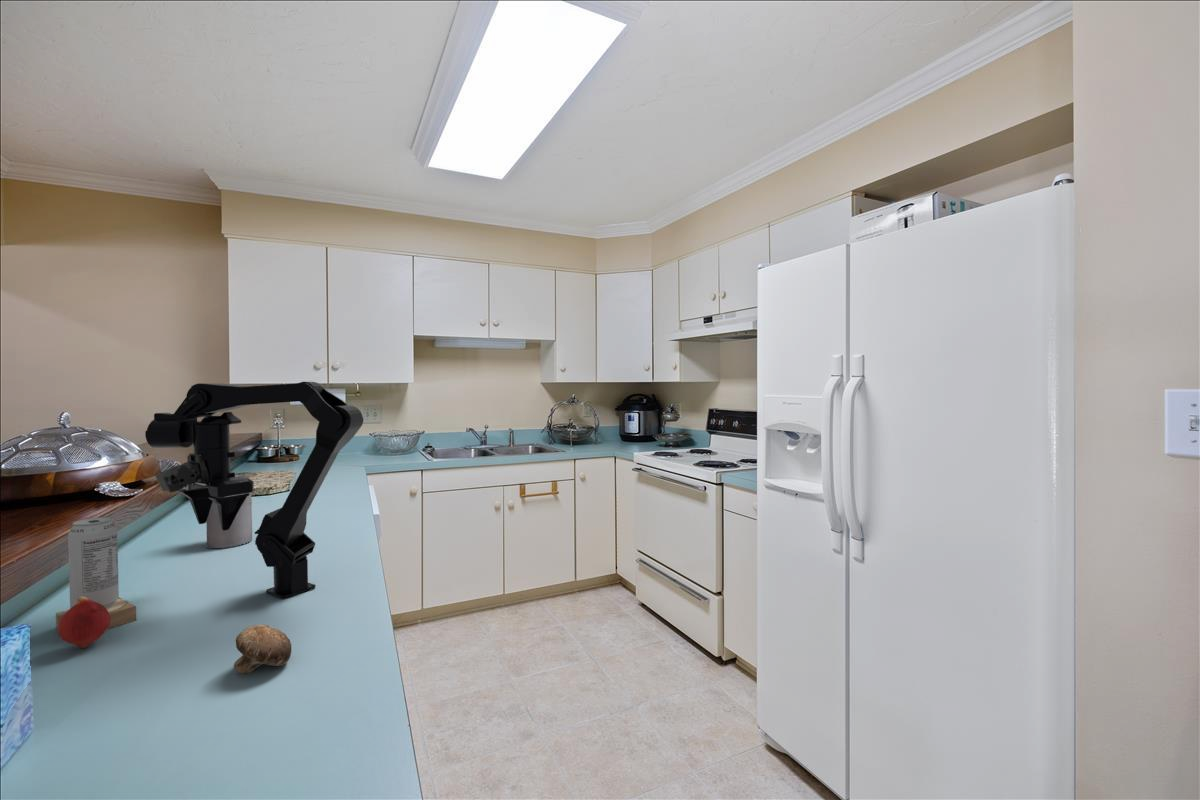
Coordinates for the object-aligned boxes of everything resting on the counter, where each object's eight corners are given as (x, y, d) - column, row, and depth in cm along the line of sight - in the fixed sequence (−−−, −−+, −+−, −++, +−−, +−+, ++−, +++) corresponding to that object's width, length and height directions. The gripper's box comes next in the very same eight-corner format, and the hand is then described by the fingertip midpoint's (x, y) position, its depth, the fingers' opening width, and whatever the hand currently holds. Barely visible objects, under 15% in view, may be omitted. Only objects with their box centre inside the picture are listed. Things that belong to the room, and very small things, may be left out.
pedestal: (136, 620, 92) (136, 604, 92) (73, 639, 85) (73, 622, 85) (117, 610, 96) (117, 594, 96) (56, 627, 89) (55, 611, 89)
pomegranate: (107, 634, 86) (105, 586, 86) (114, 645, 83) (112, 595, 83) (56, 648, 82) (55, 597, 82) (61, 660, 78) (59, 607, 78)
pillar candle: (211, 540, 139) (210, 484, 138) (255, 536, 143) (254, 481, 142) (202, 551, 130) (200, 490, 129) (249, 546, 134) (248, 487, 133)
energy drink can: (109, 598, 94) (107, 514, 94) (125, 604, 92) (123, 518, 91) (63, 611, 89) (61, 522, 88) (79, 618, 86) (76, 527, 86)
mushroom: (208, 663, 71) (241, 618, 74) (231, 658, 79) (260, 617, 81) (262, 689, 72) (293, 643, 75) (280, 682, 79) (307, 640, 82)
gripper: (139, 448, 101) (141, 530, 101) (185, 455, 92) (187, 544, 92) (206, 443, 111) (208, 517, 111) (254, 448, 101) (255, 529, 102)
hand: (213, 526), depth 104 cm, fingers open, 9 cm apart
